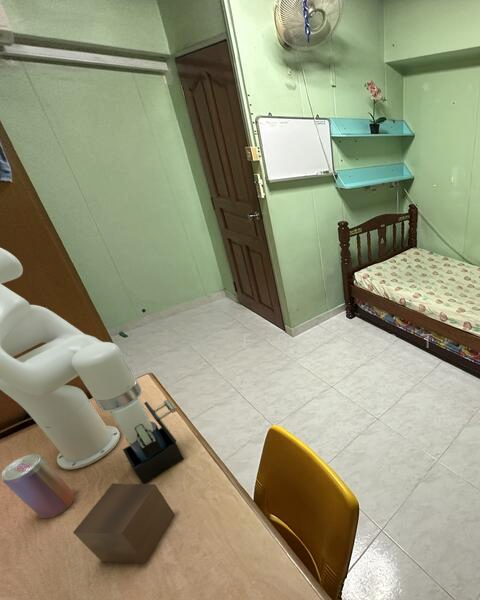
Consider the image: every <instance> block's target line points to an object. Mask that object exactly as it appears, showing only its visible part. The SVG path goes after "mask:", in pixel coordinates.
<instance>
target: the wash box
mask: <svg viewBox="0 0 480 600" xmlns="http://www.w3.org/2000/svg"><path fill="white" fill-rule="evenodd" d="M158 429H159V430H160V432H161V434H162V436H163V438H164V440H165V441H166V443H167V445H168V447H166V448H165V449H163V450H162V451H160V452H158V453H157V454H155V455H153V456H152V457H150V458H148V459H147V460H145V461H144V462H142V463H141V462H140V461H139V459H138V457H137V456H136V454H135V453H134V451H133V450H132V448H131V446H130V445H128V446H127V447H124V448H123V449H122V451H123V453H124V455H125V457H126V458H127V461H128V463H129V465H130V466H131V468H132V470H133V471H134V473H135V474H136V476H137V478H138V479H139V480H140V482H141V484H149V483H150V482H152V481H153V480H154V479H156V478H157V477H159V476H160V475H162V474H163V473H165V472H166V471H169V469H171V468H172V467H175V466H176V465H178V463H180V462H181V461H183V460H185V458H184V455H183V454H182V452H181V450H180V448H179V446H178V444H177V443H176V442H175V443H174V442H173V441H172V440H171V439H170V437H169V436H168V435H167V434H166V432H165V431H164V430H163V429H162V427H161V426H160V427H159V428H158Z"/></svg>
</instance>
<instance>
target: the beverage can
mask: <svg viewBox="0 0 480 600" xmlns="http://www.w3.org/2000/svg"><path fill="white" fill-rule="evenodd" d="M0 478H1V480H2V482H3V483H4V484H5V485H6V487H8V488H9V489H10V490H11V491H12V492H13V493H14V494H15V495H16V496H17V497H18V498H19V499H20V500H21V501H23V503H24V504H25V505H27V506H28V507H29V509H31V510H32V511H33V512H34V513H35V514H36V515H37V516H38V517H39V518H41V519H49V518H54V517H56V516H58V515H60V514H62V513H63V512H64V511H66V510H67V509H68V508H69V507H70V506H71V505H72V503H74V500H75V492H74V491H73V490H72V489H71V487H70V486H69V485H68V484H67V483H66V482H65V480H64V479H63V478H62V477H61V476H60V475H59V474H58V472H57V471H56V470H55V469H54V468H53V467H52V466H51V465H50V463H48V461H47V460H46V459H45V458H44V457H43V456H41V455H39V454H37V453H31V454H27V455H24V456H21V457H19V458H18V459H16V460H13V462H11V463H10V464H8V465H7V466H5V468H3V471H2V472H1V474H0Z"/></svg>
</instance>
